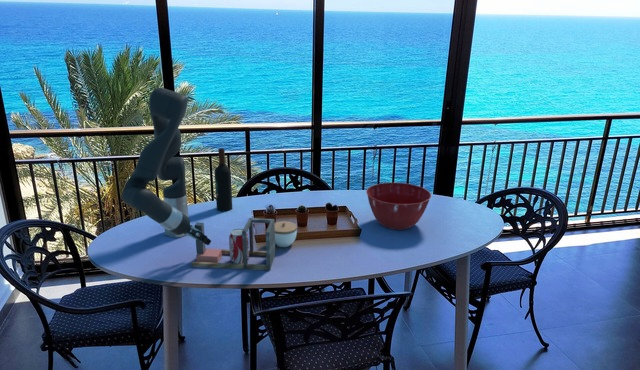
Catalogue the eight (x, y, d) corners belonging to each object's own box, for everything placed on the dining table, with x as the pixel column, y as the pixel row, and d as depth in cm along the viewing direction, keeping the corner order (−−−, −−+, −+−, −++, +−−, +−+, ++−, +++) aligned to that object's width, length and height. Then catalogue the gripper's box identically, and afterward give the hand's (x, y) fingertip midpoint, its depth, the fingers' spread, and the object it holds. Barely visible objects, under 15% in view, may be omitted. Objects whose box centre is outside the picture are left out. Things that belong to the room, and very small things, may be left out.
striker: (195, 262, 166) (192, 227, 161) (200, 254, 171) (198, 220, 167) (217, 263, 165) (215, 228, 161) (222, 255, 171) (220, 221, 166)
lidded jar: (272, 237, 187) (272, 217, 185) (297, 238, 187) (297, 217, 184) (268, 249, 177) (268, 227, 174) (295, 250, 177) (295, 228, 174)
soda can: (245, 266, 164) (244, 236, 160) (227, 264, 165) (225, 234, 161) (251, 257, 170) (250, 228, 167) (234, 255, 172) (233, 227, 168)
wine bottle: (224, 212, 213) (221, 151, 204) (213, 209, 217) (209, 149, 207) (235, 207, 219) (232, 148, 210) (224, 204, 223) (221, 146, 214)
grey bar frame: (191, 266, 163) (188, 229, 158) (201, 251, 174) (198, 216, 170) (270, 270, 162) (269, 232, 157) (275, 254, 173) (274, 219, 168)
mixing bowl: (400, 243, 185) (403, 208, 180) (351, 222, 205) (353, 190, 200) (440, 225, 202) (444, 193, 197) (391, 208, 223) (393, 178, 218)
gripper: (191, 216, 152) (221, 237, 164) (168, 205, 161) (199, 226, 173) (178, 235, 150) (210, 255, 162) (156, 223, 159) (188, 243, 171)
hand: (204, 240), depth 168 cm, fingers open, 5 cm apart
